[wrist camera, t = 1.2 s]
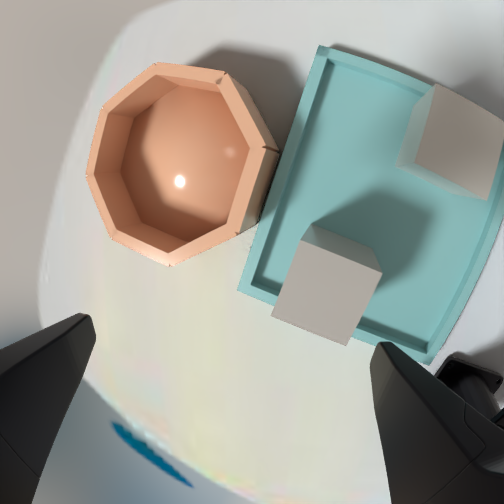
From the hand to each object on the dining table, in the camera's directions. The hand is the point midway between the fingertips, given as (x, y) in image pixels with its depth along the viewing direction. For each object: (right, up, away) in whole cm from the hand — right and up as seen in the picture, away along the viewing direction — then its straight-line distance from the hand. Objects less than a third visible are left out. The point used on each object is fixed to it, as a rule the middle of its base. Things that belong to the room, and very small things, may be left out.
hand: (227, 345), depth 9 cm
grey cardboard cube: (+11, +9, +6) cm, 16 cm away
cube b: (+5, +2, +10) cm, 11 cm away
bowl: (-4, +9, +11) cm, 15 cm away
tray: (+9, +5, +8) cm, 13 cm away
